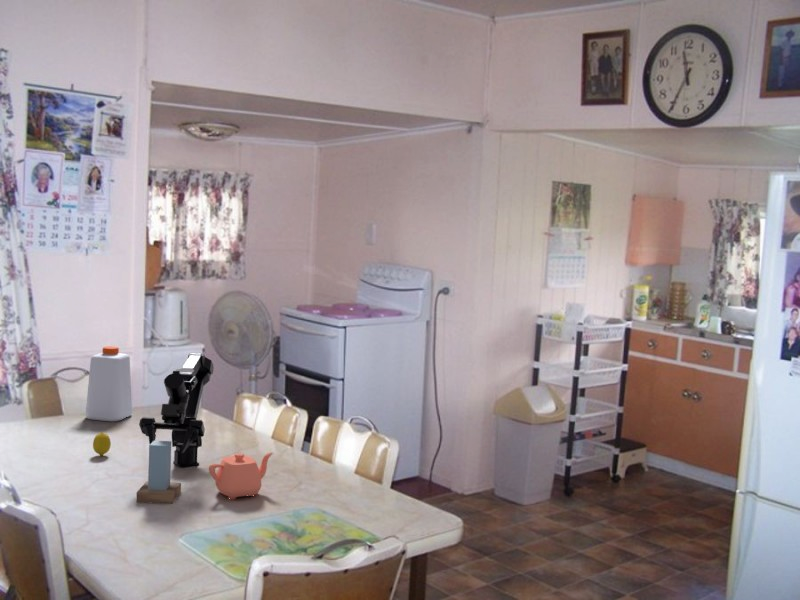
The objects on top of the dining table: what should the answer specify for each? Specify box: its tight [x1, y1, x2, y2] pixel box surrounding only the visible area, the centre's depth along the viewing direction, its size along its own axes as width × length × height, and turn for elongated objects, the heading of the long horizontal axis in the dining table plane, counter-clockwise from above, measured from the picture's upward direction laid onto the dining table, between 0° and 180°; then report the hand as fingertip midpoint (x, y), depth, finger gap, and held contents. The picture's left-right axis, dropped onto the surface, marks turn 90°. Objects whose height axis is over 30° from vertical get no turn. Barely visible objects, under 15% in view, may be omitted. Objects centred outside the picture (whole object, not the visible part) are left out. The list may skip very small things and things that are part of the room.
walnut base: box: [135, 480, 182, 505], centre depth 238 cm, size 10×10×3 cm
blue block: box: [147, 440, 172, 491], centre depth 237 cm, size 5×5×13 cm
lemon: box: [92, 432, 112, 457], centre depth 275 cm, size 6×6×8 cm
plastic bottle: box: [85, 345, 133, 422], centre depth 327 cm, size 15×15×28 cm
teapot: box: [208, 452, 274, 500], centre depth 244 cm, size 13×20×12 cm
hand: (166, 451), depth 244 cm, fingers open, 9 cm apart
